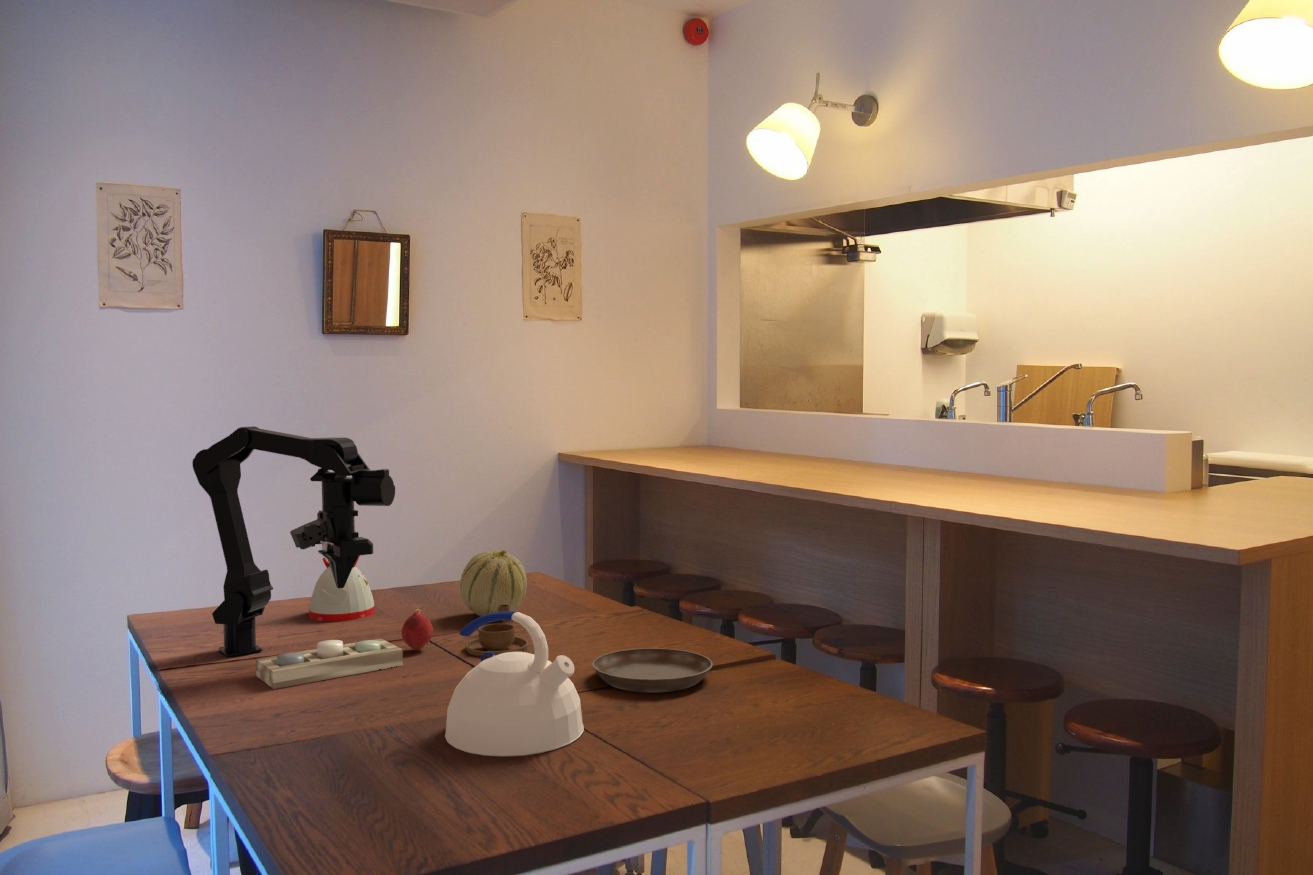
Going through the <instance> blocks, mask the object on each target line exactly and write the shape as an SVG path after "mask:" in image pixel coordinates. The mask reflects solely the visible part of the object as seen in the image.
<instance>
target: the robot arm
mask: <svg viewBox="0 0 1313 875" xmlns="http://www.w3.org/2000/svg"><path fill="white" fill-rule="evenodd" d="M255 450H256V451H262V452H267V453H272V454H277V455H283V456H289V457H292V458H293V457H294V458H299V459H302V460H305V461H306V462H307V463H308V464H310V465H312V466H315V467H317V468H318V469H317V471H316V472H315V473H314V474H313V475H312V476H311V477H310V479H309V480H310V482H321V508H322V509H321V510H318V512H317V513H316V514H317V517H316V519H314V520H313V521H309V522H307V523H305V524H302V525H300V526H298V527H296V528H293V529H291V530H290V531H289V533H290V535H291V538H292V540H293V543H294V545H295V548H297V549H298V548H299V549H300V550H306V549H310V548H313V547H315V546H316V545H321V549H319V550H317V553H318V554H321V555H322V556H323V558H325V559H326V560H327V562H328V563H329V565H330V568H331V571H332V574H333V577H334V580H335V584H336V587H337V588H339V589H340V588H344V586H345V584H346V582H347V579H348V577H349V575H350V573H351V570H352V568H353V566H354V564H355V562H356V560H357V558H358V556H366V555H367V556H368V555H373V554H374V543H373V542H372V540H370V539H369V538H366V537H362V536H360V535H359V533H360V532H358V531H355V530H356V529H355V528H356V526H355V524H356V523H355V517H359V510H357V509H355V503H356V504H357V505H358V506H363V507H365V506H366V507H367V506H368V507H371V506H372V507H391V505H392V504H393V502H394V500H395V496H396V486H395V484H394V480H393V478H392V476H390V470H389V468H381V469H370V467H369V466H368V464H366V462H365V461H364V459H363V458H362V456H361V455H360V454H359V452H358V448H357V445H356V444H355V442H354V440H353V439H352V438H349V437H308V436H303V435H297V434H292V433H285V432H279V431H275V430H269V429H264V428H259V427H257V426H254V425H253V426H242V427H238V428H236V429H235V430H233V432H232V433H230V434H229V435H227V436H225V437H224V438H222V439H220V440H219V441H217V442H216V443H214V444H212V445H211V446H209V447H208V448H206V449H205V448H203V449H201V450H199V451H198V452H197V453H196V454H195V455H194V458H193V459H192V462H191V463H192V470H193V472H194V475H195V477H196V479H197V481H198V482H197V483H198V484H199V486H201V488H202V489H203V490H204V491H205V493H206V494H207V495H208V496H209V498H210V502H211V507H212V510H213V514H214V518H215V522H216V527H217V532H218V536H219V541H220V544H221V549H222V552H223V553H222V554H223V557H224V561H225V566H226V574H225V578H224V581H223V588H222V589H223V599H224V600H223V601H222V602H221V603H220V604H219V606H217V607H216V609H215V610H214V611H213V612H212V613H211V616H212V618H213V621H214V624H216V625H223V626H222V627H223V628H222V629H223V646H220V647H218V651H219V652H220V653H222V654H223V655H224V656H225V657H233V656H240V655H246V654H253V653H259V652H262V651H263V648H262V647H260V646H259V645H258V644H257V637H256V635H257V634H256V617H258V616H259V617H260V616H263V615H264V611H265V608H266V606H267V605H268V604H269V603H270V600H272V599H271V598H272V591H273V590H274V588H273V586H272V584H271V581H270V580H271V579H270V573H269V571H268V569H262V570H261V569H260V568H259V567H258V566H257V565H256V563H255V561H254V557H253V553H252V548H251V544H250V541H249V536H248V532H247V528H246V524H245V523H246V522H245V519H244V514H243V510H242V506H241V505H242V504H241V502H240V501H241V500H240V499H239V498H240V497H239V492H238V491H239V490H238V489H239V485H240V481H241V479H242V478H241V477H242V470H241V469H242V468H241V465H242V463H243V462H245V461H246V460H247V459H248V458H250V456H251V455H252V453H253V452H254V451H255Z"/></svg>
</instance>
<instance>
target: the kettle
mask: <svg viewBox="0 0 1313 875" xmlns="http://www.w3.org/2000/svg"><path fill="white" fill-rule="evenodd" d="M502 620H506V621H513V622H516V623H518V624H520V625H521V626H522V627H523V628H524V629H525V630H526V631H527V633H528V634H529V636H530V638H531V641H532V645H533V649H535V651H533V652H534V653H532V654H530V652H526V651H524V652H507V653H502V654H499V655H496V656H495V654H494V653H492V652H487V653H485V654H483V655H482V657H480V662H479V663H478V664H477V665H475V666H474V667H473V668H471V669H470V670H469V671H468V672H467V673H466V674H465V675H464V677H462V679H461V680H460V682H459V683H458V684H457V686H456V687H455V689H454V691H453V693H452V696H451V698H450V701H449V703H448V706H447V709H446V710H447V712H446V723H445V724H446V726H445V735H444V738H445V739H446V742H447V743H448V744H449V745H450V746H452V747H453V748H455V749H456V750H459V751H462V752H465V753H468V754H473V755H479V756H484V757H485V756H486V757H503V758H506V757H523V756H531V755H537V754H538V755H540V754H544V753H547V752H551V751H555V750H558V749H561V748H564V747H567V746H569V745H570V744H572V743H573V742H575V741H577V740H579V738H581V735H582V734H583V732H585V731H584V730H585V729H584V723H583V715H582V706H581V698H580V696H579V694H578V691H577V689H576V687H575V685H574V683H573V682H572V680H571V679H570V678H569V677H572V676H573V675H574V673H575V665H574V662H573V661H572V660H571V658H570V657H568V656H566V655H563V654H562V655H557V656H556V658H555V660H553V662H552V661H551V660H549V646H548V643H547V638H546V635H545V633H544V631H543V629H542V628H541V626H540V625H539V623H537V622H536V621H535V620H534V619H533V618H532V617H531V616H529V615H527V614H524V613H522V612H520V611H517V610H515V611H503V612H495V613H490V614H487V615H484V616H478V618H475V619H473V620H471V621H470V622H468V623H467V624H466V625H465V626H464V627H463V628H462V629H461V630H460V631H459V633H458V634H459V635H460V636H462V637H469V636H471V635H473V633H474V632H476V631H477V630H478V628H479V627H481V626H483V625H488V624H491V623H492V622H493V623H494V622H498V621H502ZM486 655H490V656H491V657H486Z"/></svg>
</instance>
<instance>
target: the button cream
mask: <svg viewBox="0 0 1313 875" xmlns="http://www.w3.org/2000/svg"><path fill="white" fill-rule="evenodd" d="M343 645H344V642H343V640H339V639H327V640H321V641H319V642H316V649H317V658H318V659H328V658H334V657H340V656H343Z"/></svg>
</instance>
